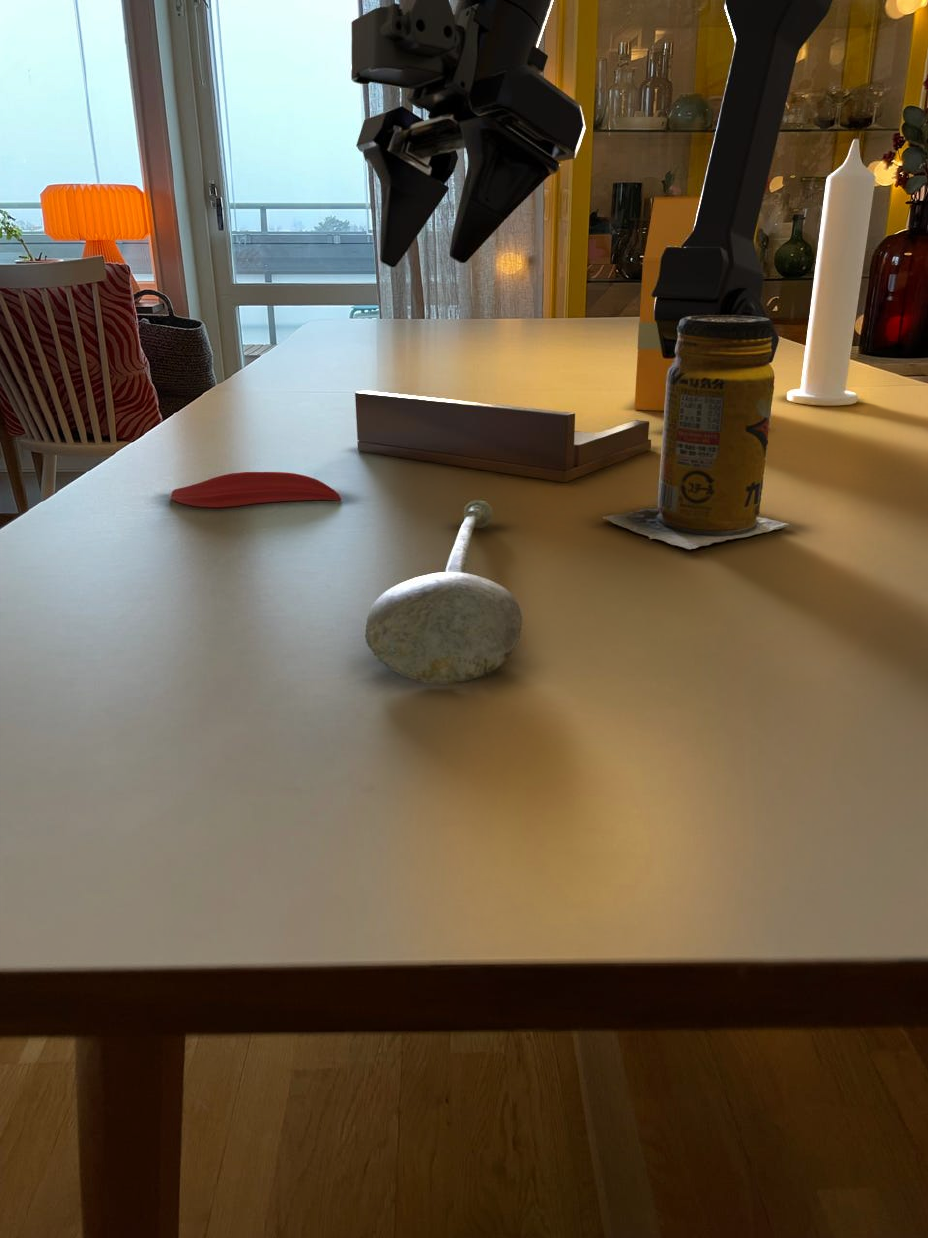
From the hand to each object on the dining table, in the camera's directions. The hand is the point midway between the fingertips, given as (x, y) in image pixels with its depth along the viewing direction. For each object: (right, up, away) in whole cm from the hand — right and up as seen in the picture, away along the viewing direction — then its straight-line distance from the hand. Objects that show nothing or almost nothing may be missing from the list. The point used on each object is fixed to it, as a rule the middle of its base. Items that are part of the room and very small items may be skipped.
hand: (419, 262), depth 61 cm
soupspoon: (+3, -22, -14) cm, 26 cm away
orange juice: (+26, -1, +37) cm, 45 cm away
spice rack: (+6, -9, +17) cm, 20 cm away
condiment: (+17, -18, -4) cm, 25 cm away
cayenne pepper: (-11, -15, +2) cm, 19 cm away
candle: (+41, 0, +39) cm, 57 cm away
